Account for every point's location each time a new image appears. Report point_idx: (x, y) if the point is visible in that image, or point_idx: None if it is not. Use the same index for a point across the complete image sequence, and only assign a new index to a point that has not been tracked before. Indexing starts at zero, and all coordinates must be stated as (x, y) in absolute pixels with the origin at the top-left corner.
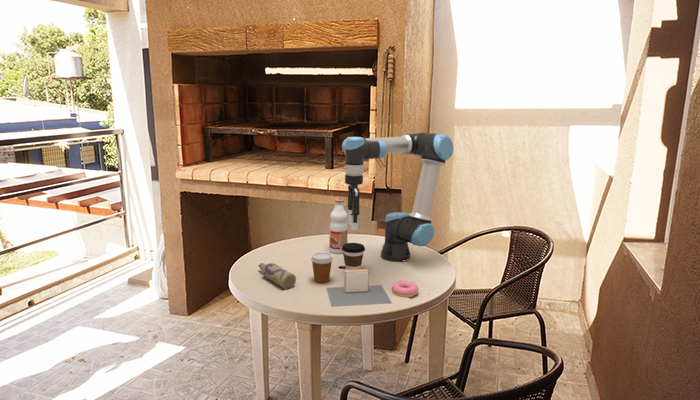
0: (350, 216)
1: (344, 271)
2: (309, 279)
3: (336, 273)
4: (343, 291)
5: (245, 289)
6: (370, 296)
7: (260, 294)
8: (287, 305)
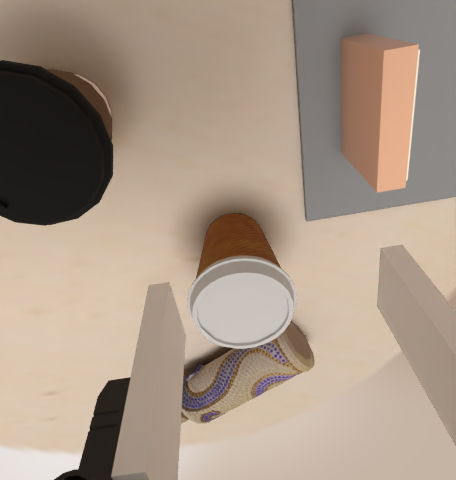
0: (174, 407)
1: (384, 189)
2: None
3: (134, 188)
4: None
5: (293, 408)
6: (427, 24)
7: (329, 377)
8: None
